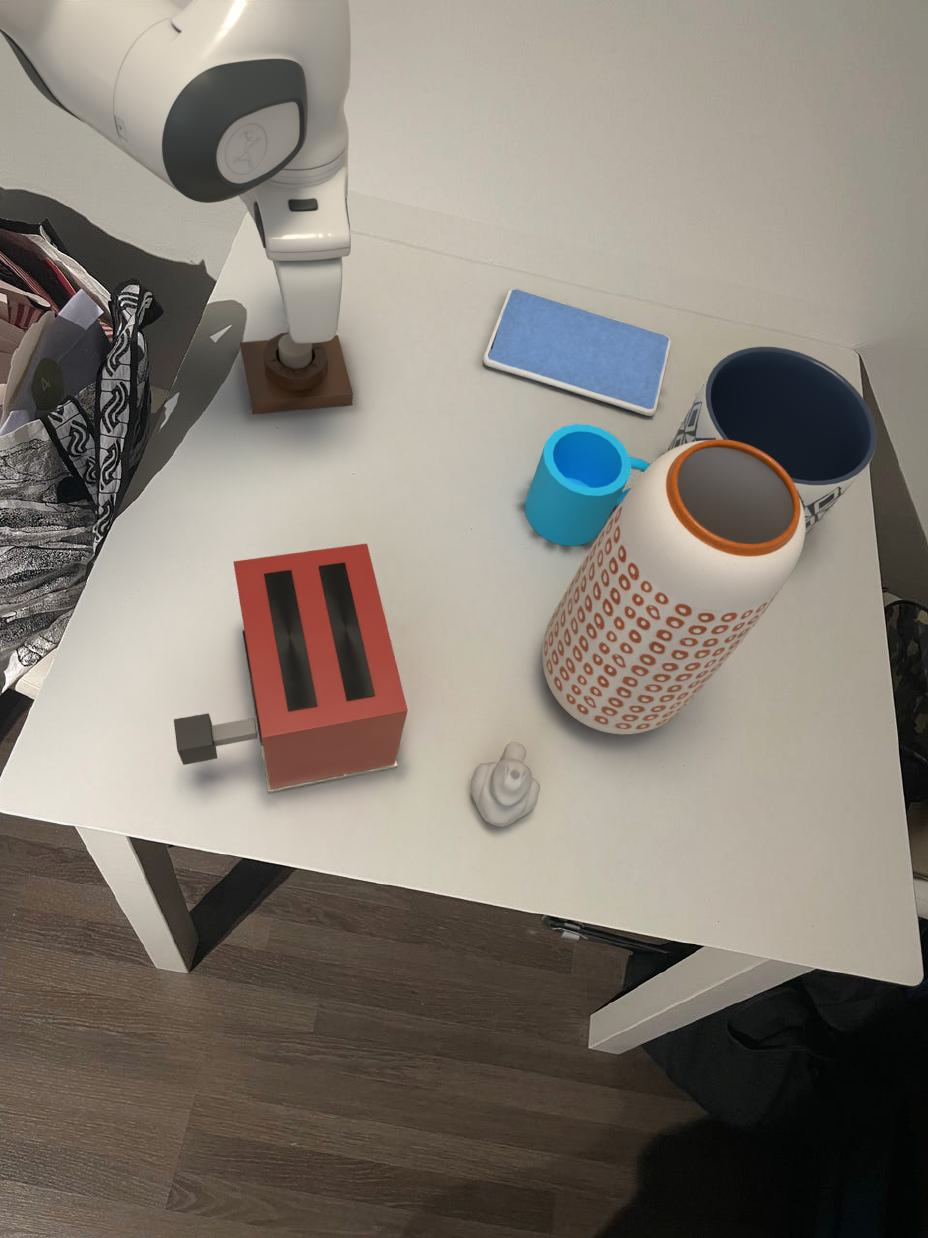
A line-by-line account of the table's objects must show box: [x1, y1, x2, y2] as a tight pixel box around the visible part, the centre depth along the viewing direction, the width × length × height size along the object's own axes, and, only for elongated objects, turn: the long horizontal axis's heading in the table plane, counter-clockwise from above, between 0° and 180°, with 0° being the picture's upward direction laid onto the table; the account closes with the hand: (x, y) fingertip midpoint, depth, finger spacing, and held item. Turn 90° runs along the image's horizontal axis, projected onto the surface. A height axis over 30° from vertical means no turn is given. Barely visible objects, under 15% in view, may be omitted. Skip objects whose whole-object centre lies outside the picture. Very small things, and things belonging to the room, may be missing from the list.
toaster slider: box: [173, 713, 258, 766], centre depth 62 cm, size 5×2×3 cm, turn 105°
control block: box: [239, 331, 354, 415], centre depth 87 cm, size 10×8×4 cm
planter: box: [665, 346, 877, 537], centre depth 82 cm, size 16×16×14 cm
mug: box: [524, 423, 651, 547], centre depth 82 cm, size 12×8×8 cm
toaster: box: [233, 543, 408, 794], centre depth 67 cm, size 10×14×12 cm
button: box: [278, 333, 312, 369], centre depth 85 cm, size 3×3×2 cm
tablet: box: [482, 288, 672, 417], centre depth 95 cm, size 19×13×1 cm, turn 74°
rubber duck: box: [470, 741, 541, 827], centre depth 67 cm, size 5×7×8 cm
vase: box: [541, 440, 806, 735], centre depth 65 cm, size 13×13×28 cm
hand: (296, 305), depth 80 cm, fingers closed
